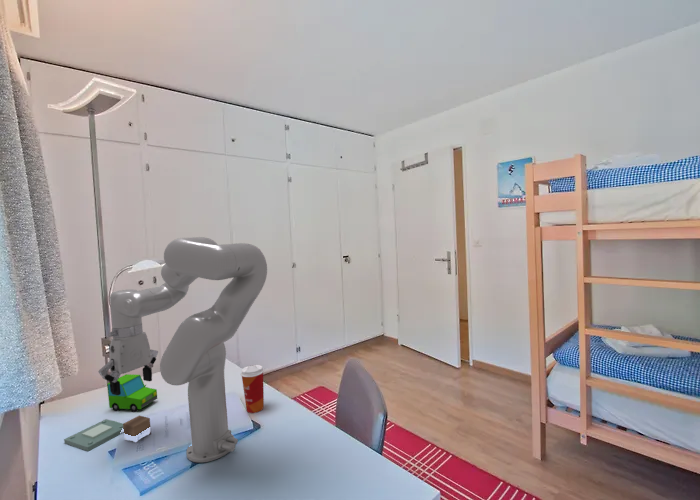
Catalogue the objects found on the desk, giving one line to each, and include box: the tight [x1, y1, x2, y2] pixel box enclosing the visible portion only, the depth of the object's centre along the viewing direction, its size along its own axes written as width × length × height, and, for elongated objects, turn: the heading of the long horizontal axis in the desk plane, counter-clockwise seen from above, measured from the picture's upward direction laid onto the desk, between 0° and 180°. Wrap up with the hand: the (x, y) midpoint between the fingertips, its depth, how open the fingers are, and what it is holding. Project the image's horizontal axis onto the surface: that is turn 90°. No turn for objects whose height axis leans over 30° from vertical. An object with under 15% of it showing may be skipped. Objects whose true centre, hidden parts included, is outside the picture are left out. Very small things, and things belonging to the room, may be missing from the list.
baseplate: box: [63, 418, 124, 452], centre depth 107 cm, size 12×12×2 cm
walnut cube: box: [123, 415, 152, 436], centre depth 105 cm, size 5×5×5 cm
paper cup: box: [240, 364, 265, 414], centre depth 118 cm, size 8×8×14 cm
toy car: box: [106, 373, 158, 413], centre depth 126 cm, size 10×13×10 cm
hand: (132, 387), depth 105 cm, fingers open, 9 cm apart
